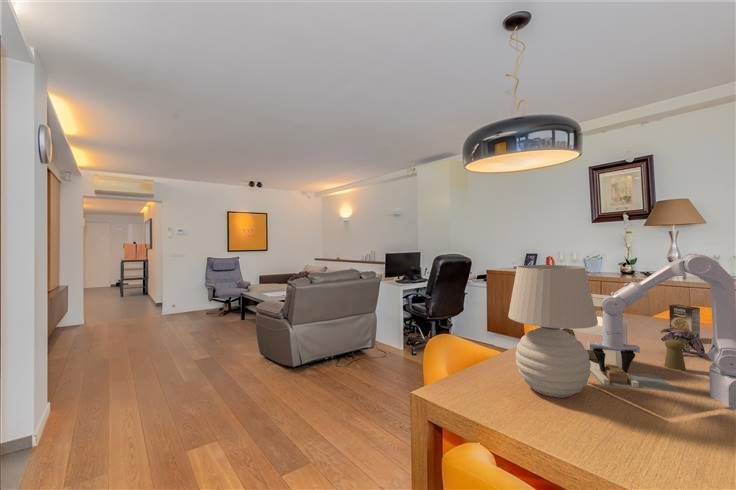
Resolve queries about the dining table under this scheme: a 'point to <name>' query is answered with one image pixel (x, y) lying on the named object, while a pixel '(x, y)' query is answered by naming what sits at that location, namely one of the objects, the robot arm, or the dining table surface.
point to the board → (636, 381)
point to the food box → (685, 318)
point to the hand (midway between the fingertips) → (613, 371)
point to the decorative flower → (685, 339)
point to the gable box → (611, 355)
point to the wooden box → (615, 374)
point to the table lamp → (552, 327)
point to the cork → (674, 355)
